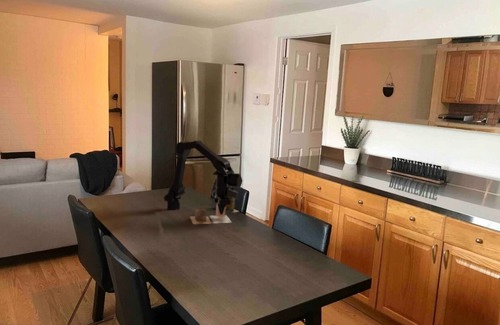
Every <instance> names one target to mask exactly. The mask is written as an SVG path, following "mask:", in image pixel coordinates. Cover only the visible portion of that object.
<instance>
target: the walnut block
mask: <svg viewBox="0 0 500 325" xmlns="http://www.w3.org/2000/svg"><path fill="white" fill-rule="evenodd" d="M194 210H195V211H194V216H195V220H196V222H201V221H206V217H207V215H208V214H207V213H208V212H207V210H206V209H205V208H199V209H198V208H197V209H194Z"/></svg>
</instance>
